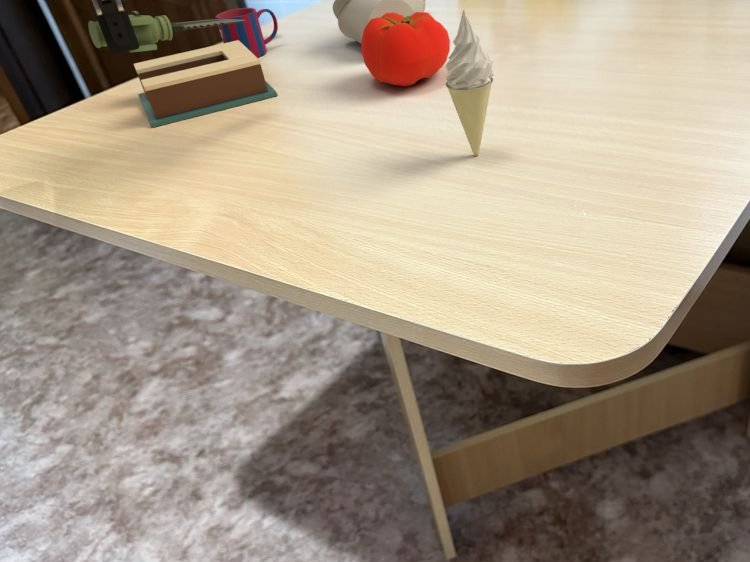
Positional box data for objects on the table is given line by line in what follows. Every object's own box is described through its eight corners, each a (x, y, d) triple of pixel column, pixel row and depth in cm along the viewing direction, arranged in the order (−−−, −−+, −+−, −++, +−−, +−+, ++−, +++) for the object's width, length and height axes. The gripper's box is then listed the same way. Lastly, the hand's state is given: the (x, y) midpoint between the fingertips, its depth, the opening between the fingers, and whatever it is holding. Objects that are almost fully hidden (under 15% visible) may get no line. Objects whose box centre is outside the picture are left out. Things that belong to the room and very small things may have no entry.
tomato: (471, 81, 97) (465, 13, 91) (388, 103, 93) (376, 34, 88) (432, 59, 107) (424, -3, 101) (355, 78, 103) (343, 14, 98)
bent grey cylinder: (315, 33, 121) (359, 56, 107) (313, -36, 116) (359, -20, 101) (406, 34, 129) (458, 56, 115) (409, -30, 124) (464, -15, 110)
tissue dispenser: (151, 128, 95) (136, 90, 92) (139, 97, 107) (125, 63, 104) (277, 95, 100) (268, 59, 97) (253, 70, 112) (243, 37, 109)
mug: (224, 56, 121) (211, 14, 117) (278, 42, 124) (267, 1, 120) (234, 64, 116) (220, 20, 112) (290, 50, 119) (279, 7, 115)
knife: (79, 11, 77) (95, 20, 74) (234, 0, 88) (253, 7, 85) (88, 48, 79) (104, 58, 77) (238, 32, 90) (256, 40, 87)
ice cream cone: (484, 167, 74) (470, 17, 65) (445, 161, 76) (426, 15, 67) (507, 149, 77) (497, 3, 68) (469, 143, 80) (454, 2, 70)
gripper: (12, -144, 73) (87, 37, 85) (3, -142, 61) (92, 70, 72) (87, -153, 75) (150, 25, 87) (93, -153, 63) (165, 55, 74)
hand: (123, 43), depth 79 cm, fingers closed on knife, 5 cm apart
